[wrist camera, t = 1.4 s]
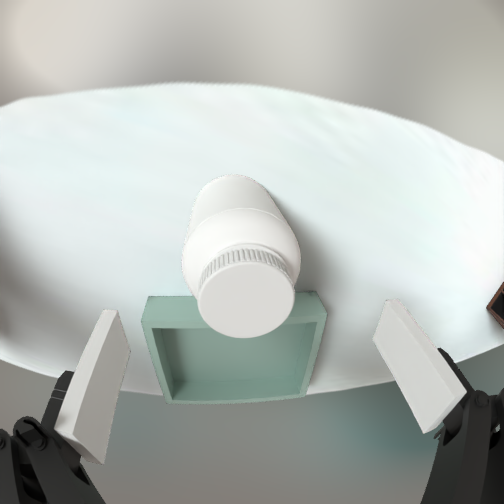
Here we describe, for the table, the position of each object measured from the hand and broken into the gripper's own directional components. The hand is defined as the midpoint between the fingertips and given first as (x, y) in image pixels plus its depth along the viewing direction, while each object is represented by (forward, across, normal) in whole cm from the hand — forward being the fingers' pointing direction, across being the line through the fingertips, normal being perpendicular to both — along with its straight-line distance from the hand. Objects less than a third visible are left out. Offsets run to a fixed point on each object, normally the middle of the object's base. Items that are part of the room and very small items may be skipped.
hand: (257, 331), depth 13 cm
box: (+17, 0, -18) cm, 25 cm away
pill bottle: (+17, 0, 0) cm, 17 cm away
